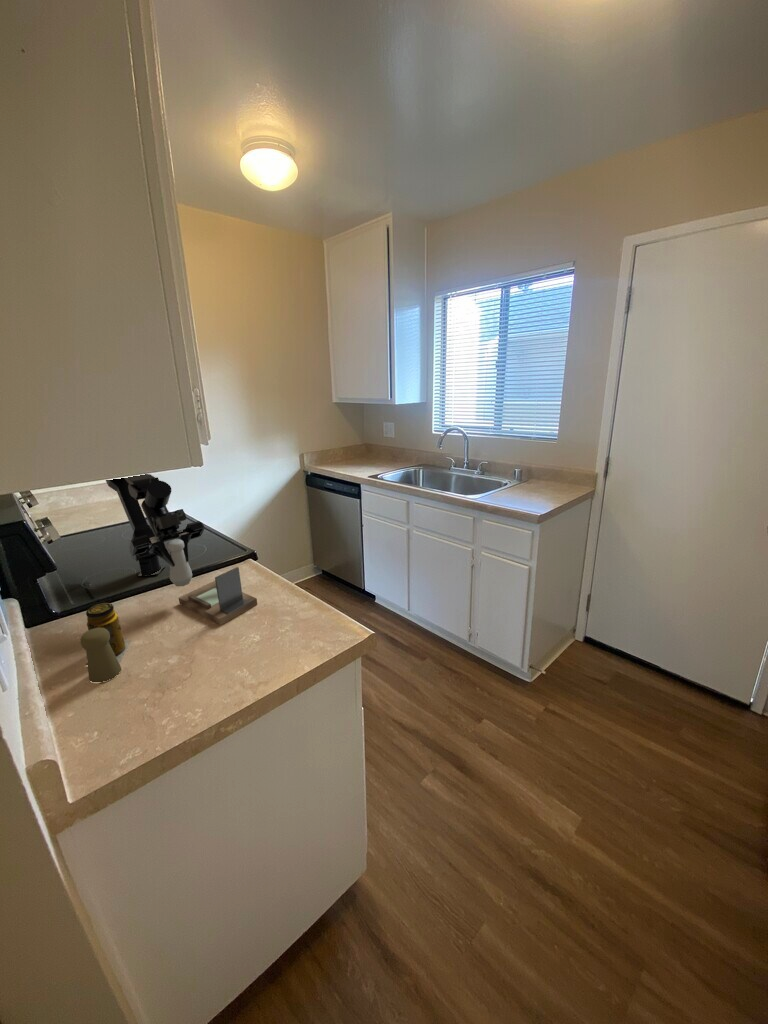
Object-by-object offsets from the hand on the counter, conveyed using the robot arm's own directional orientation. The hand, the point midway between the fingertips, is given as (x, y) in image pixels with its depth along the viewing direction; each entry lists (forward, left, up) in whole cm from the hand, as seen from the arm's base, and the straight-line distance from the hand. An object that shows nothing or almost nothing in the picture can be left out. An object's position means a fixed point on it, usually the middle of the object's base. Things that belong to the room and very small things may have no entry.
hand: (180, 563), depth 113 cm
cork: (+28, -8, -13) cm, 32 cm away
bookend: (+6, +15, -11) cm, 19 cm away
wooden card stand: (+1, +9, -13) cm, 15 cm away
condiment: (+21, -11, -13) cm, 27 cm away
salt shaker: (-1, -1, -7) cm, 7 cm away
